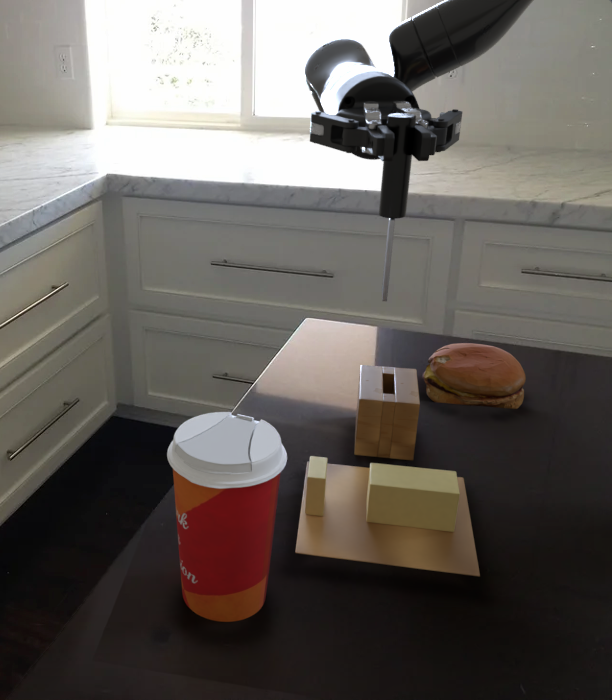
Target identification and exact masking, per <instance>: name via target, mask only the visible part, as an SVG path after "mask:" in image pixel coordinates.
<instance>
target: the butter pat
mask: <svg viewBox="0 0 612 700" xmlns="http://www.w3.org/2000/svg"><path fill="white" fill-rule="evenodd" d="M308 462H309V469H308V477H307V491H306V507H305V514H308V515H316V516H323V511H324V500H325V488H326V474H327V464H328V462H329V461H328V457H323V456H315V455H310V456H309V461H308Z"/></svg>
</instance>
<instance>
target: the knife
mask: <svg viewBox="0 0 612 700" xmlns="http://www.w3.org/2000/svg"><path fill="white" fill-rule="evenodd" d="M415 122H416V115H413V114H407V113H394V114H389V115H388V117H387V127H388V128H389V129H390V130H391V131H392V132H393V133H394V137H395V139H394V150H393V159H392V161H382V162H383V163H382V172H381V173H382V175H381V184H380V195H379V204H378V205H379V207H378V215H379V217H382V218H385V219H388V222H387V232H386V240H385V241H386V242H385V250H384V251H385V253H384V261H383V262H384V263H383V274H382V283H381V301H382V302H388V296H389V286H390V274H391V265H392V255H393V246H394V237H395V236H394V235H395V225H396V219H402V218H405V217H406V216H407V209H408V208H407V207H408V198H409V187H410V180H411V179H410V178H411V168H412V161H413V160H412V159H413V155H412V151H413V141H414V132H415Z"/></svg>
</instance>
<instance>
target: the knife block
mask: <svg viewBox="0 0 612 700" xmlns="http://www.w3.org/2000/svg"><path fill="white" fill-rule="evenodd" d="M420 408H421V402H420V391H419V382H418V372H417V369H416V368H408V367H407V368H406V367H395V366H380V365H378V366H377V365H368V364H367V365H366V364H360V366H359V378H358V387H357V398H356V412H355V428H354V429H355V430H354V453H353V454H354V455H355V456H366V457H375V458H382V459H383V458H384V459H394V460H402V461H403V460H404V461H405V460H406V461H414V457H415V447H416V441H417V431H418V425H419V424H418V423H419V416H420Z"/></svg>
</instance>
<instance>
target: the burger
mask: <svg viewBox="0 0 612 700" xmlns="http://www.w3.org/2000/svg"><path fill="white" fill-rule="evenodd" d="M427 363H428V364H427V365H426V367H425V371H424V372H422V376H421V378H422V379H423V381H424V383H425V385H426V386H425V391H426V395H427V396H428V398H429V399H430V400H431V401H432V402H434V403H440V404H451V405H463V406H475V407H486V408H496V409H497V408H498V409H508V410H517V409H519V408H520V407H521V405H522V404H523V402H524V397H525V389H524V388H523V387H524V386H525V383H526V380H527V378H526V377H527V376H526V373H525V370H524V369H523V366H522V365H521V362H519V361H518V360H517V359H516V357H515V356H513V355H512V354H511V353H510V352H508V351H506V350H504V349H502V348H500V347H496V346H493V345H487V344H481V343H471V342H470V343H469V342H463V343H462V342H460V343H450V344H447V345H444V346H441V347H440V348H438V349H437V350H435V351H434V352H433V353H432V355H431V356H430V357H429V358H428V360H427Z"/></svg>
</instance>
